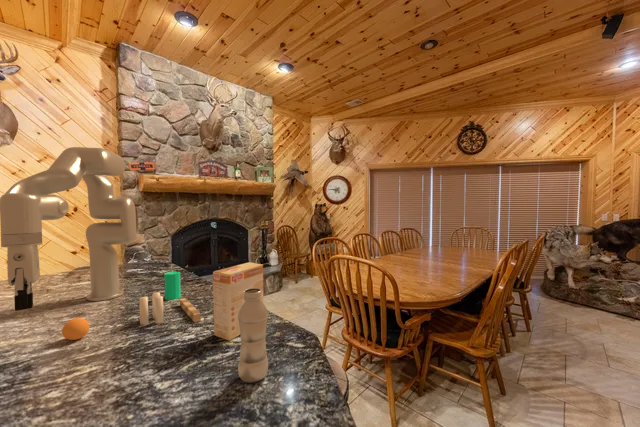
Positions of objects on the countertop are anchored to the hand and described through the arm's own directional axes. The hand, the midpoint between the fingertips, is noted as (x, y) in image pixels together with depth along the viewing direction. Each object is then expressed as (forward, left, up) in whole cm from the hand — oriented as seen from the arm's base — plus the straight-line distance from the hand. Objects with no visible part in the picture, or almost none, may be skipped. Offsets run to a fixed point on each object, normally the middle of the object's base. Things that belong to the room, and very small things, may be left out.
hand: (24, 308), depth 75 cm
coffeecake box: (+24, +50, -12) cm, 57 cm away
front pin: (0, +27, -12) cm, 30 cm away
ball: (0, +10, -9) cm, 13 cm away
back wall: (0, +41, -12) cm, 43 cm away
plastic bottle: (+50, +42, -12) cm, 66 cm away
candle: (-22, +40, -12) cm, 48 cm away
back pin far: (-3, +31, -12) cm, 33 cm away
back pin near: (+2, +31, -12) cm, 33 cm away
